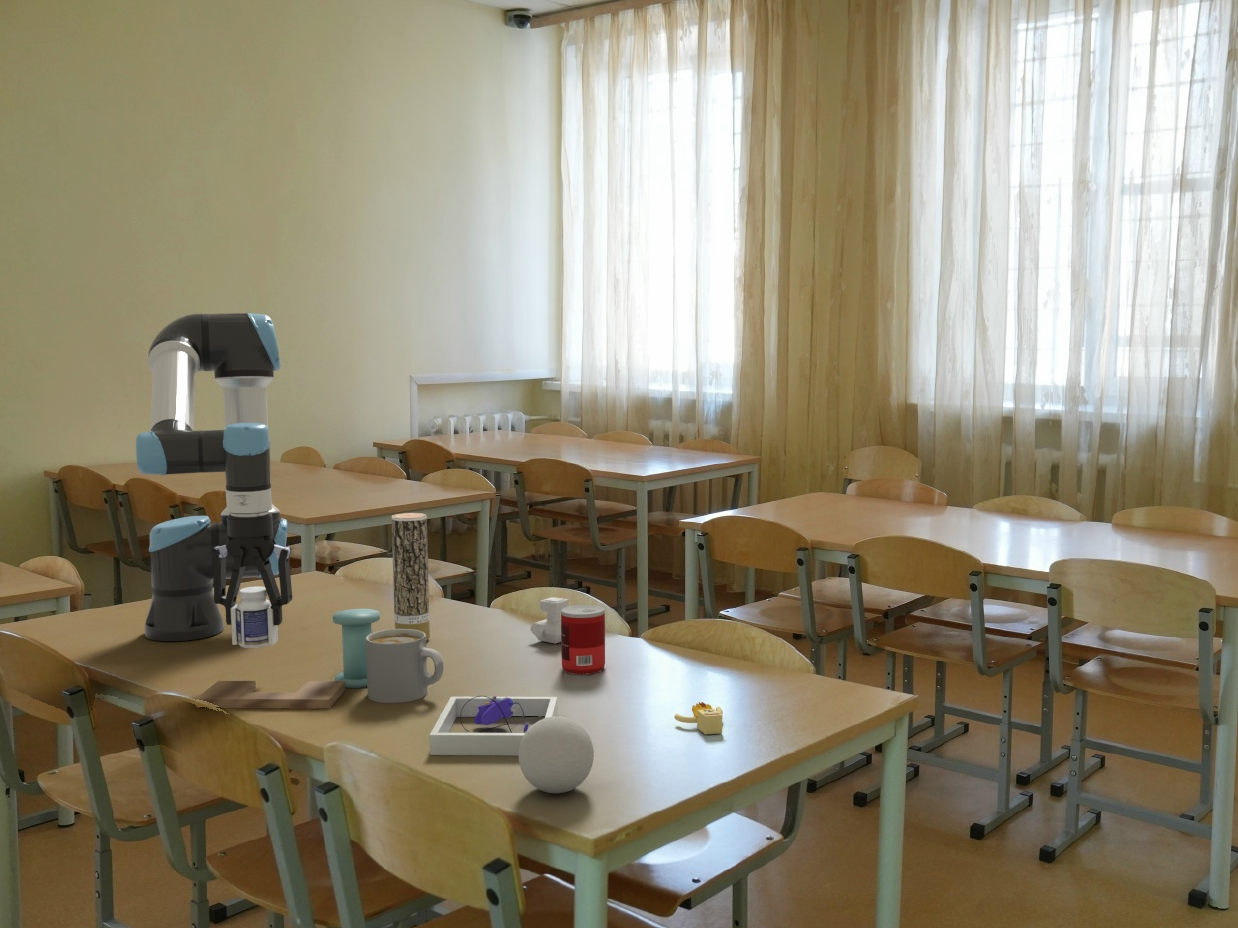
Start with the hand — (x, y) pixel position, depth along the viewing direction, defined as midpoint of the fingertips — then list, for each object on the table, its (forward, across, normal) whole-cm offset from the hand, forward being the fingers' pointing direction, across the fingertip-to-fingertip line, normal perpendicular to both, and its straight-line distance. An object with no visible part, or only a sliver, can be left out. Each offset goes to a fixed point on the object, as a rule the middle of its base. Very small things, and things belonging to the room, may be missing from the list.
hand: (255, 642), depth 210 cm
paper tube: (+7, +22, +26) cm, 35 cm away
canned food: (+7, +57, +7) cm, 58 cm away
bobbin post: (+7, +18, -1) cm, 19 cm away
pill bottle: (+1, 0, 0) cm, 1 cm away
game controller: (+6, +47, -26) cm, 54 cm away
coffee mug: (+6, +28, -9) cm, 30 cm away
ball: (+5, +57, -50) cm, 76 cm away
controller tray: (+5, +46, -28) cm, 54 cm away
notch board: (+6, +6, -11) cm, 14 cm away
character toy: (+6, +79, -23) cm, 82 cm away
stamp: (+7, +50, +26) cm, 57 cm away
